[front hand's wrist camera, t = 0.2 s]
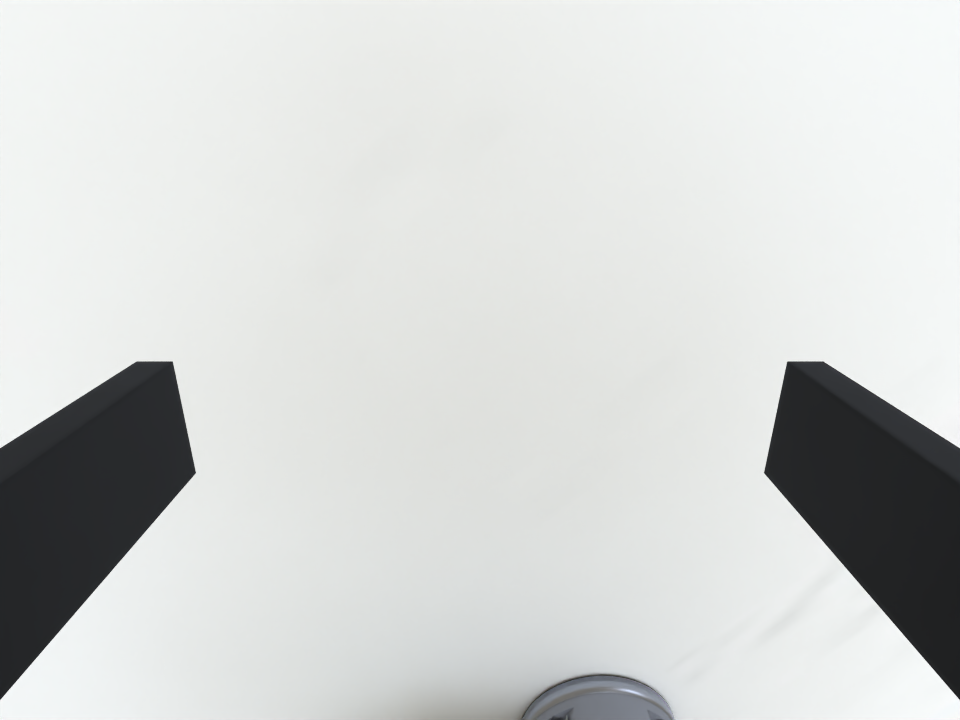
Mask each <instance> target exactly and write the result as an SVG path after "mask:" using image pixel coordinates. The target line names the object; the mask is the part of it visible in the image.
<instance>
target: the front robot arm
mask: <svg viewBox="0 0 960 720" xmlns="http://www.w3.org/2000/svg"><path fill="white" fill-rule="evenodd" d="M195 473H196V472H195V467H194V462H193V457H192V452H191V447H190V443H189V438H188V433H187V428H186V423H185V419H184V414H183V409H182V404H181V399H180V395H179V390H178V385H177V380H176V375H175V370H174V366H173V362H135V363H134V364H132V365H131V366H129V367H127V368H126V369H124V370H123V371H121V372H120V373H118V374H116V375H115V376H113V377H112V378H110V379H109V380H107V381H105V382H104V383H102V384H101V385H99V386H98V387H96V388H94V389H93V390H91V391H90V392H88V393H87V394H85V395H83V396H82V397H80V398H79V399H77V400H76V401H74V402H72V403H71V404H69V405H68V406H66V407H65V408H63V409H61V410H60V411H58V412H57V413H55V414H54V415H52V416H50V417H49V418H47V419H46V420H44V421H43V422H41V423H39V424H38V425H36V426H35V427H33V428H32V429H30V430H28V431H27V432H25V433H24V434H22V435H21V436H19V437H17V438H16V439H14V440H13V441H11V442H9V443H8V444H6V445H5V446H3V447H2V448H0V699H1V698H2V697H3V696H4V695H5V694H6V692H7V691H8V690H9V689H10V688H11V687H12V686H13V684H14V683H15V682H16V681H17V680H18V679H19V677H20V676H21V675H22V674H23V673H24V672H25V670H26V669H27V668H28V667H29V666H30V665H31V664H32V662H33V661H34V660H35V659H36V658H37V657H38V655H39V654H40V653H41V652H42V651H43V650H44V648H45V647H46V646H47V645H48V644H49V643H50V641H51V640H52V639H53V638H54V637H55V636H56V635H57V633H58V632H59V631H60V630H61V629H62V628H63V626H64V625H65V624H66V623H67V622H68V621H69V619H70V618H71V617H72V616H73V615H74V614H75V612H76V611H77V610H78V609H79V608H80V607H81V606H82V604H83V603H84V602H85V601H86V600H87V599H88V597H89V596H90V595H91V594H92V593H93V592H94V590H95V589H96V588H97V587H98V586H99V585H100V584H101V582H102V581H103V580H104V579H105V578H106V577H107V575H108V574H109V573H110V572H111V571H112V570H113V568H114V567H115V566H116V565H117V564H118V563H119V561H120V560H121V559H122V558H123V557H124V556H125V555H126V553H127V552H128V551H129V550H130V549H131V548H132V546H133V545H134V544H135V543H136V542H137V541H138V539H139V538H140V537H141V536H142V535H143V534H144V532H145V531H146V530H147V529H148V528H149V527H150V526H151V524H152V523H153V522H154V521H155V520H156V519H157V517H158V516H159V515H160V514H161V513H162V512H163V510H164V509H165V508H166V507H167V506H168V505H169V503H170V502H171V501H172V500H173V499H174V498H175V497H176V495H177V494H178V493H179V492H180V491H181V490H182V488H183V487H184V486H185V485H186V484H187V483H188V481H189V480H190V479H191V478H192V477H193V476H194V475H195ZM764 473H765V475H766V476H767V477H768V478H769V479H770V480H771V481H772V483H773V484H774V485H775V486H776V487H777V488H778V490H779V491H780V492H781V493H782V494H783V495H784V497H785V498H786V499H787V500H788V501H789V502H790V504H791V505H792V506H793V507H794V508H795V509H796V510H797V512H798V513H799V514H800V515H801V516H802V517H803V519H804V520H805V521H806V522H807V523H808V524H809V526H810V527H811V528H812V529H813V530H814V531H815V532H816V534H817V535H818V536H819V537H820V538H821V539H822V541H823V542H824V543H825V544H826V545H827V546H828V548H829V549H830V550H831V551H832V552H833V553H834V555H835V556H836V557H837V558H838V559H839V560H840V561H841V563H842V564H843V565H844V566H845V567H846V568H847V570H848V571H849V572H850V573H851V574H852V575H853V577H854V578H855V579H856V580H857V581H858V582H859V584H860V585H861V586H862V587H863V588H864V589H865V590H866V592H867V593H868V594H869V595H870V596H871V597H872V599H873V600H874V601H875V602H876V603H877V604H878V606H879V607H880V608H881V609H882V610H883V611H884V612H885V614H886V615H887V616H888V617H889V618H890V619H891V621H892V622H893V623H894V624H895V625H896V626H897V628H898V629H899V630H900V631H901V632H902V633H903V635H904V636H905V637H906V638H907V639H908V640H909V641H910V643H911V644H912V645H913V646H914V647H915V648H916V650H917V651H918V652H919V653H920V654H921V655H922V657H923V658H924V659H925V660H926V661H927V662H928V664H929V665H930V666H931V667H932V668H933V669H934V670H935V672H936V673H937V674H938V675H939V676H940V677H941V679H942V680H943V681H944V682H945V683H946V684H947V686H948V687H949V688H950V689H951V690H952V691H953V692H954V694H955V695H956V696H957V697H958V698H959V699H960V448H958V447H957V446H955V445H954V444H952V443H951V442H949V441H947V440H946V439H944V438H943V437H941V436H939V435H938V434H936V433H935V432H933V431H932V430H930V429H928V428H927V427H925V426H924V425H922V424H921V423H919V422H917V421H916V420H914V419H913V418H911V417H910V416H908V415H906V414H905V413H903V412H902V411H900V410H899V409H897V408H895V407H894V406H892V405H891V404H889V403H888V402H886V401H884V400H883V399H881V398H880V397H878V396H877V395H875V394H873V393H872V392H870V391H869V390H867V389H866V388H864V387H862V386H861V385H859V384H858V383H856V382H855V381H853V380H851V379H850V378H848V377H847V376H845V375H844V374H842V373H840V372H839V371H837V370H836V369H834V368H832V367H831V366H829V365H828V364H826V363H825V362H787V366H786V370H785V375H784V380H783V385H782V390H781V395H780V399H779V404H778V409H777V414H776V419H775V423H774V428H773V433H772V438H771V443H770V447H769V452H768V457H767V462H766V467H765V472H764ZM522 720H674V717H673V714H672V711H671V709H670V707H669V706H668V704H667V702H666V701H665V700H664V699H663V698H662V697H661V696H660V695H659V694H658V693H657V692H655V691H654V690H653V689H651V688H649V687H648V686H646V685H644V684H642V683H639V682H637V681H633V680H630V679H626V678H622V677H615V676H591V677H584V678H579V679H574V680H571V681H568V682H565V683H562V684H560V685H558V686H556V687H553V688H552V689H550V690H548V691H547V692H545V693H544V694H542V695H541V696H540V697H539V698H537V699H536V700H535V701H534V702H533V703H532V704H531V706H530V707H529V708H528V710H527V711H526V713H525V714H524V717H523V719H522Z"/></svg>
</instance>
